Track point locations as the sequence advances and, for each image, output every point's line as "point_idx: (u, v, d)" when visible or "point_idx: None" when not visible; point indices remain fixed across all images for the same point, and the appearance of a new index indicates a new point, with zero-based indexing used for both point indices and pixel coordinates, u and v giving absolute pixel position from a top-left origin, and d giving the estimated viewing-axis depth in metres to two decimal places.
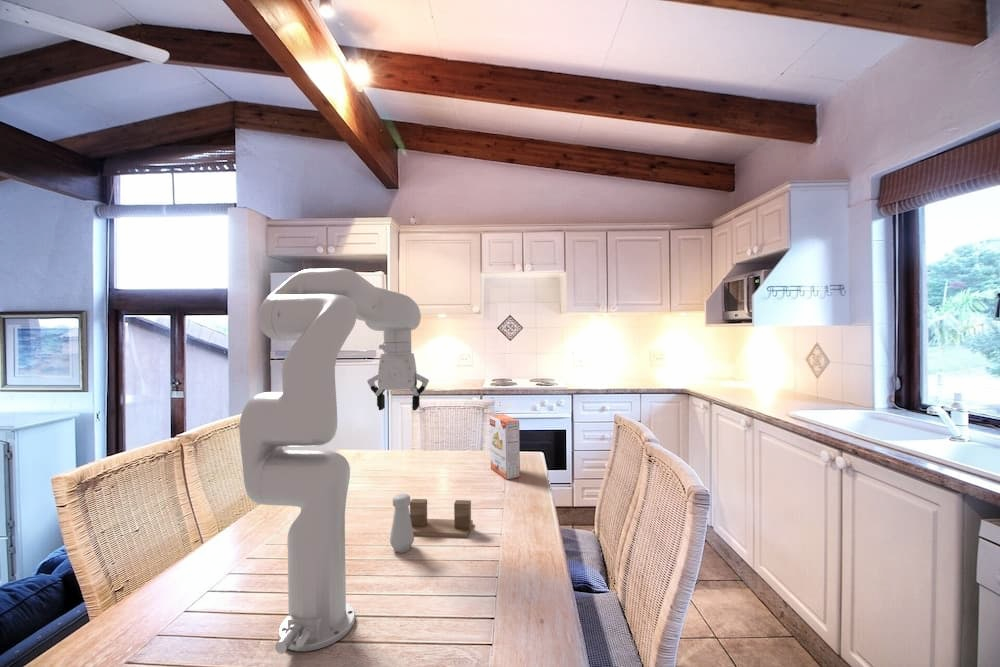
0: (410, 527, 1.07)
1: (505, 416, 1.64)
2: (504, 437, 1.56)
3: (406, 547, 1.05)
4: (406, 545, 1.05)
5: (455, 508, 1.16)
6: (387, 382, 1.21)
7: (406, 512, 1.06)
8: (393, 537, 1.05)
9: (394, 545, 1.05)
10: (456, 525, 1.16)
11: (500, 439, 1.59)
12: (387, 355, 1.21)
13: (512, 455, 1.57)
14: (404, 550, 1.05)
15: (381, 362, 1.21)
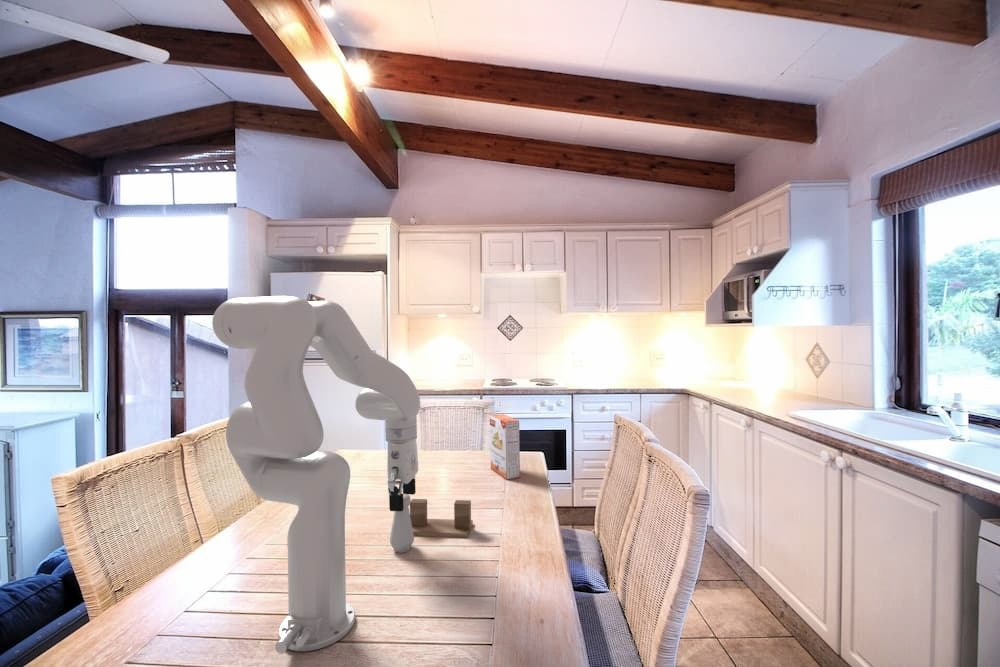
0: (410, 527, 1.07)
1: (505, 416, 1.64)
2: (504, 437, 1.56)
3: (406, 547, 1.05)
4: (406, 545, 1.05)
5: (455, 508, 1.16)
6: (410, 473, 1.05)
7: (406, 512, 1.06)
8: (392, 537, 1.05)
9: (394, 545, 1.05)
10: (456, 525, 1.16)
11: (500, 439, 1.59)
12: (409, 442, 1.05)
13: (512, 455, 1.57)
14: (404, 550, 1.05)
15: (406, 452, 1.03)
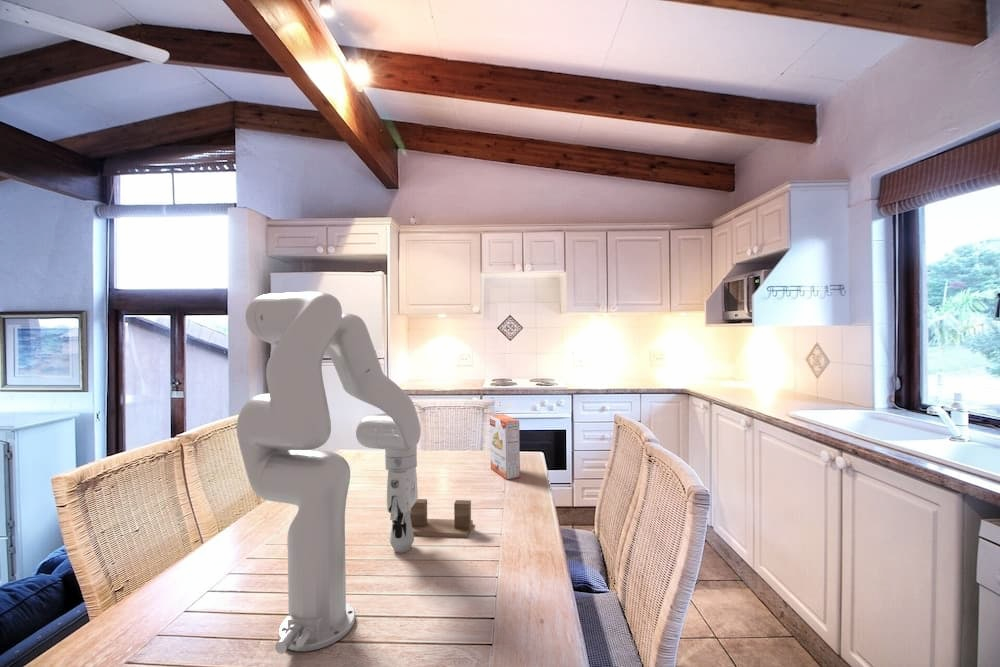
0: (410, 527, 1.07)
1: (505, 416, 1.64)
2: (504, 437, 1.56)
3: (406, 547, 1.05)
4: (406, 545, 1.05)
5: (455, 508, 1.16)
6: (410, 502, 1.05)
7: None
8: (393, 537, 1.05)
9: (394, 545, 1.05)
10: (456, 525, 1.16)
11: (500, 439, 1.59)
12: (409, 471, 1.05)
13: (512, 455, 1.57)
14: (404, 550, 1.05)
15: (406, 481, 1.03)
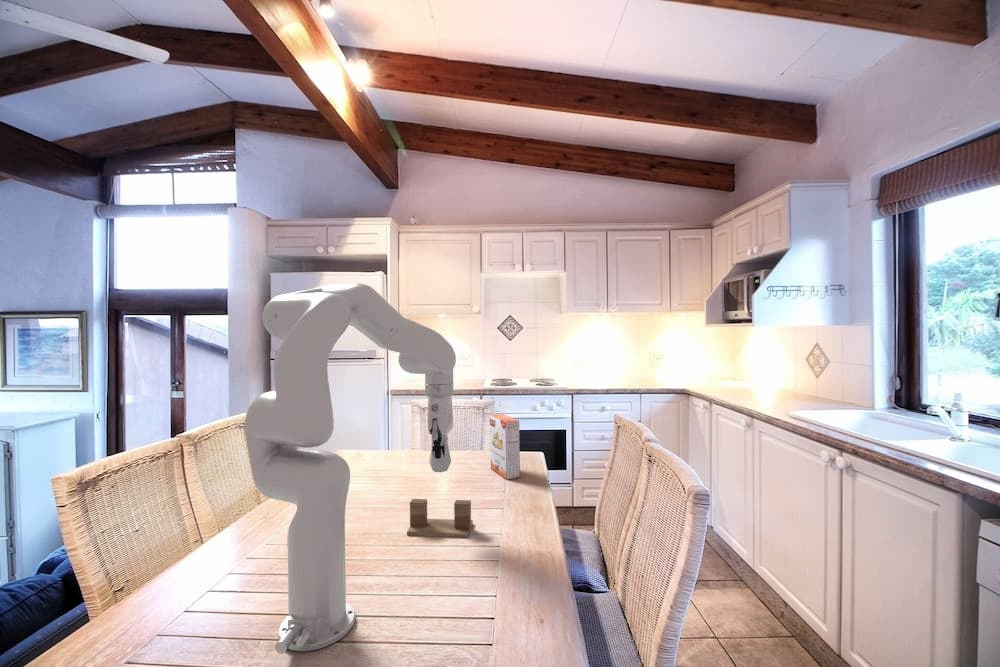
0: (448, 450, 1.17)
1: (505, 416, 1.64)
2: (504, 437, 1.56)
3: (444, 467, 1.16)
4: (445, 465, 1.15)
5: (455, 508, 1.16)
6: (448, 426, 1.15)
7: (444, 436, 1.16)
8: (432, 458, 1.15)
9: (434, 465, 1.15)
10: (456, 525, 1.16)
11: (500, 439, 1.59)
12: (447, 397, 1.15)
13: (512, 455, 1.57)
14: (443, 470, 1.16)
15: (445, 406, 1.13)
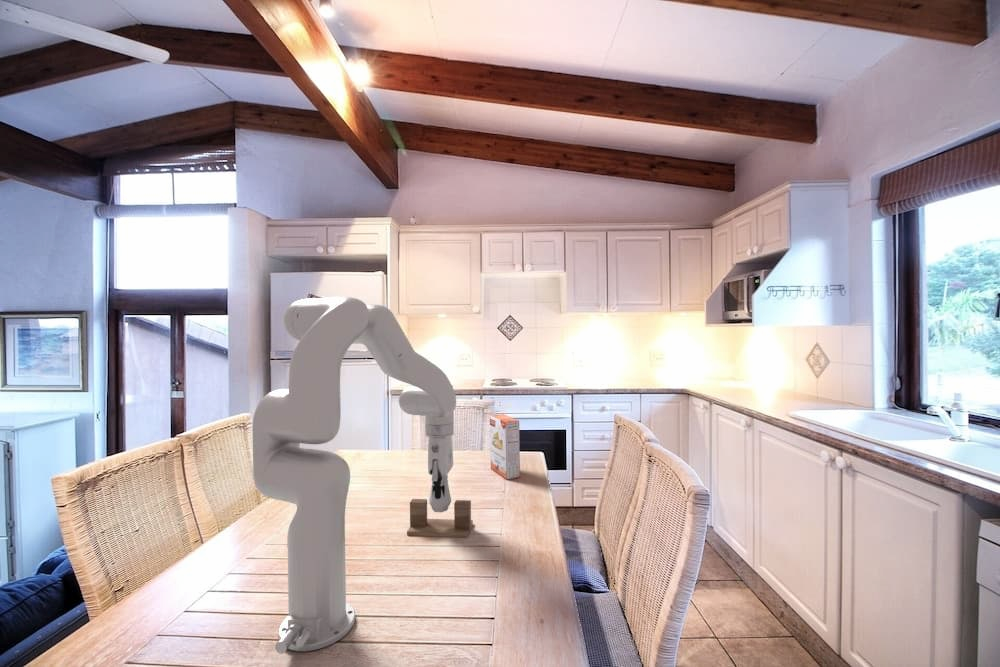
0: (448, 489, 1.17)
1: (505, 416, 1.64)
2: (504, 437, 1.56)
3: (444, 507, 1.15)
4: (445, 505, 1.15)
5: (455, 508, 1.16)
6: (448, 466, 1.15)
7: None
8: (432, 498, 1.15)
9: (434, 505, 1.15)
10: (456, 525, 1.16)
11: (500, 439, 1.59)
12: (447, 437, 1.15)
13: (512, 455, 1.57)
14: (443, 510, 1.16)
15: (445, 446, 1.13)
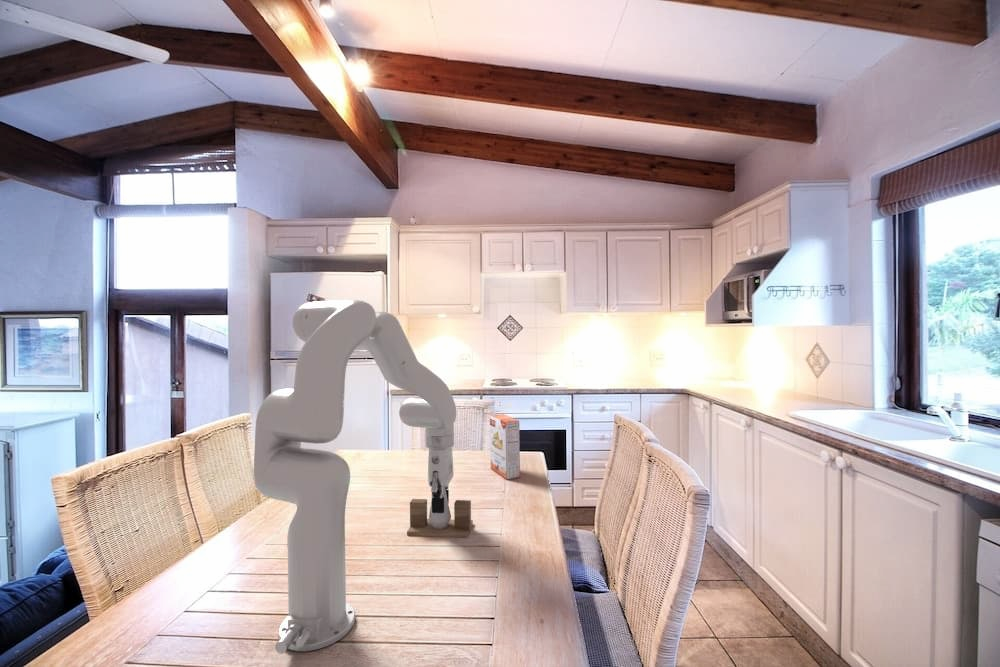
0: (447, 506, 1.17)
1: (505, 416, 1.64)
2: (504, 437, 1.56)
3: (444, 524, 1.15)
4: (445, 522, 1.15)
5: (455, 508, 1.16)
6: (448, 477, 1.15)
7: (444, 492, 1.16)
8: (432, 515, 1.15)
9: (434, 522, 1.15)
10: (456, 525, 1.16)
11: (500, 439, 1.59)
12: (447, 449, 1.15)
13: (512, 455, 1.57)
14: (443, 527, 1.15)
15: (446, 458, 1.13)
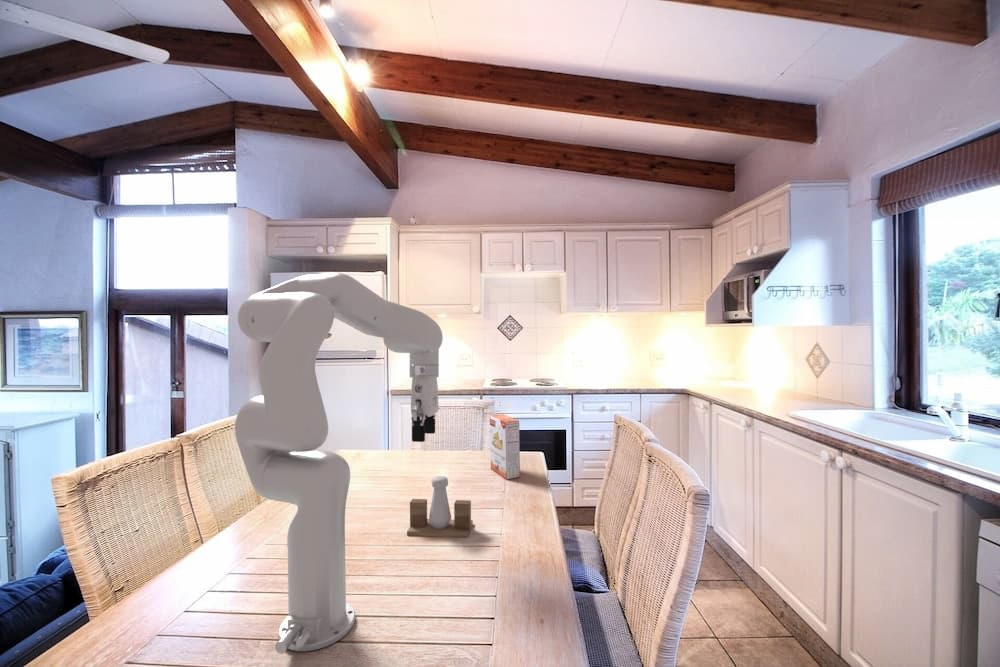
0: (448, 506, 1.17)
1: (505, 416, 1.64)
2: (504, 437, 1.56)
3: (445, 524, 1.15)
4: (445, 522, 1.15)
5: (455, 508, 1.16)
6: (432, 408, 1.12)
7: (444, 492, 1.16)
8: (432, 515, 1.15)
9: (434, 522, 1.15)
10: (456, 525, 1.16)
11: (500, 439, 1.59)
12: (431, 379, 1.12)
13: (512, 455, 1.57)
14: (443, 527, 1.15)
15: (429, 387, 1.11)
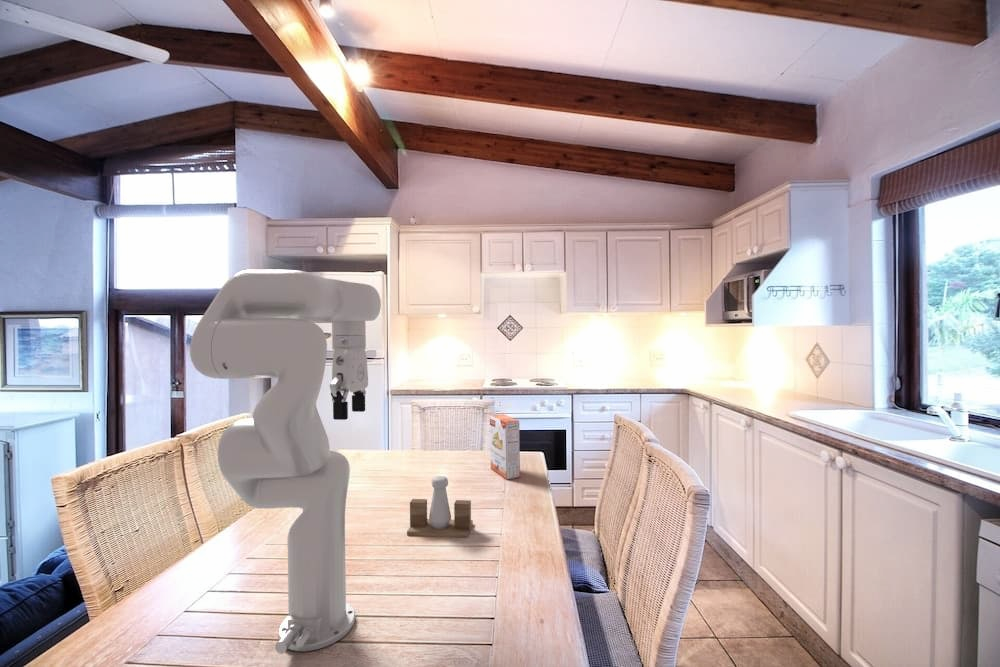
0: (448, 506, 1.17)
1: (505, 416, 1.64)
2: (504, 437, 1.56)
3: (445, 524, 1.15)
4: (445, 522, 1.15)
5: (455, 508, 1.16)
6: (357, 382, 1.02)
7: (444, 492, 1.16)
8: (432, 515, 1.15)
9: (434, 522, 1.15)
10: (456, 525, 1.16)
11: (500, 439, 1.59)
12: (355, 350, 1.02)
13: (512, 455, 1.57)
14: (443, 527, 1.15)
15: (352, 359, 1.00)
